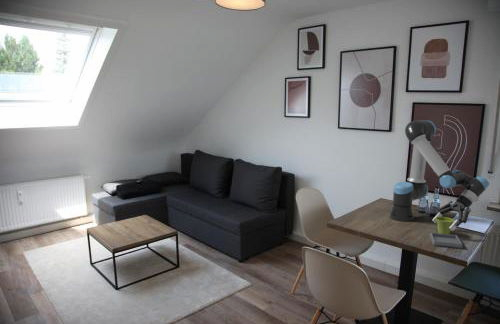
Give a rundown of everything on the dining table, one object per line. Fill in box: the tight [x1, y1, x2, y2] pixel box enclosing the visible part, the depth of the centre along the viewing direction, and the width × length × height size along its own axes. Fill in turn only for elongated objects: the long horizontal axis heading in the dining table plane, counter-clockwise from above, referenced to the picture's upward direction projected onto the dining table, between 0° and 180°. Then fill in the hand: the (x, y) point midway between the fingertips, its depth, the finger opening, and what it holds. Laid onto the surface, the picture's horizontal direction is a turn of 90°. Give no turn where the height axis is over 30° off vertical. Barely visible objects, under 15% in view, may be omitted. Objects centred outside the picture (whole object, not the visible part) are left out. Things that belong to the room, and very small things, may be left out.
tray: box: [429, 232, 463, 250], centre depth 188 cm, size 13×13×3 cm
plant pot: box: [436, 216, 455, 235], centre depth 201 cm, size 9×9×9 cm
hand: (441, 225), depth 200 cm, fingers open, 13 cm apart
